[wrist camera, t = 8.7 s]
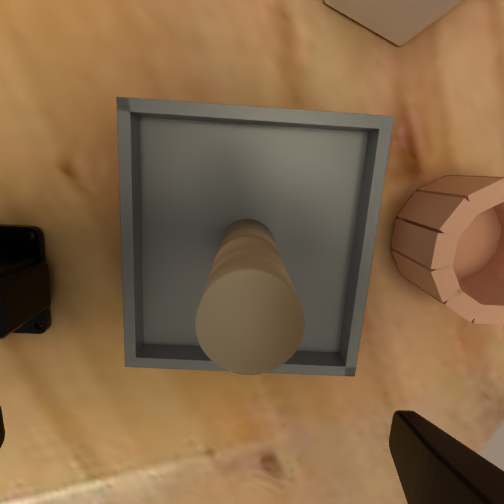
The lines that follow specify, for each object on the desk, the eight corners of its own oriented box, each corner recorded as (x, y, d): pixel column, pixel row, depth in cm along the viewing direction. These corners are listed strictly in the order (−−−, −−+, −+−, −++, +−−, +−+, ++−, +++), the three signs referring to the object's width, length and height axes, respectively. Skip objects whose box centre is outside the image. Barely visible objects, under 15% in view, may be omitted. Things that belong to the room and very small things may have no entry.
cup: (383, 288, 21) (420, 321, 17) (402, 172, 19) (449, 173, 15) (494, 294, 21) (559, 327, 17) (522, 179, 19) (603, 183, 15)
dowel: (219, 269, 19) (194, 372, 10) (221, 217, 19) (196, 271, 9) (272, 272, 19) (299, 376, 10) (276, 220, 19) (310, 277, 9)
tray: (138, 344, 21) (125, 366, 19) (133, 106, 18) (116, 96, 16) (342, 353, 22) (354, 376, 19) (374, 122, 19) (394, 116, 16)
